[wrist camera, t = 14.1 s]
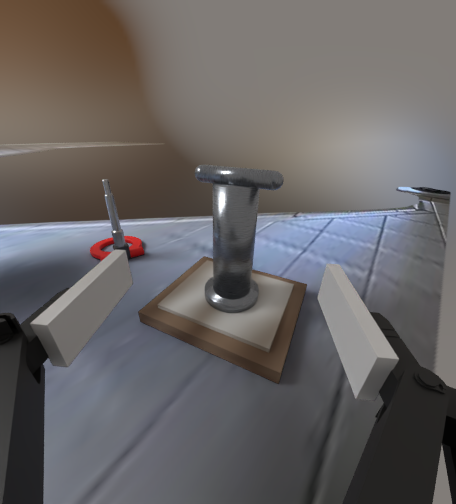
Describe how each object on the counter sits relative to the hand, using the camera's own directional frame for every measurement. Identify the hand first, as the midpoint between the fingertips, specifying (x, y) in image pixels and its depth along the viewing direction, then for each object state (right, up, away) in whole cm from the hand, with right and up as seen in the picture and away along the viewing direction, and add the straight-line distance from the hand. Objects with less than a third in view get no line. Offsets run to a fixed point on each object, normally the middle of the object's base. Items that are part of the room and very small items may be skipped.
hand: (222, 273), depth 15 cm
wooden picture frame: (+1, -5, +13) cm, 14 cm away
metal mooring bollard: (+1, -4, +12) cm, 13 cm away
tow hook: (-19, +2, +26) cm, 32 cm away
